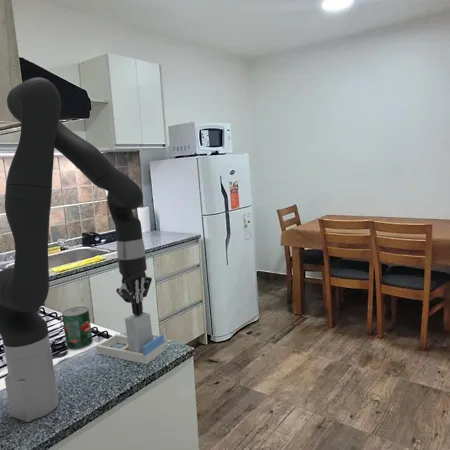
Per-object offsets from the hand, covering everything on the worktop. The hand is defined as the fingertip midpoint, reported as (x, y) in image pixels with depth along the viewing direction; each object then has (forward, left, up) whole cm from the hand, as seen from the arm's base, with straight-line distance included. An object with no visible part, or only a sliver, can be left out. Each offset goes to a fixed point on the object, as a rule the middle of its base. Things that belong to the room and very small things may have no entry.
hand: (138, 314), depth 113 cm
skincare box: (0, 0, -12) cm, 12 cm away
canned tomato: (-1, +24, -12) cm, 28 cm away
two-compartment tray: (0, +4, -12) cm, 13 cm away
